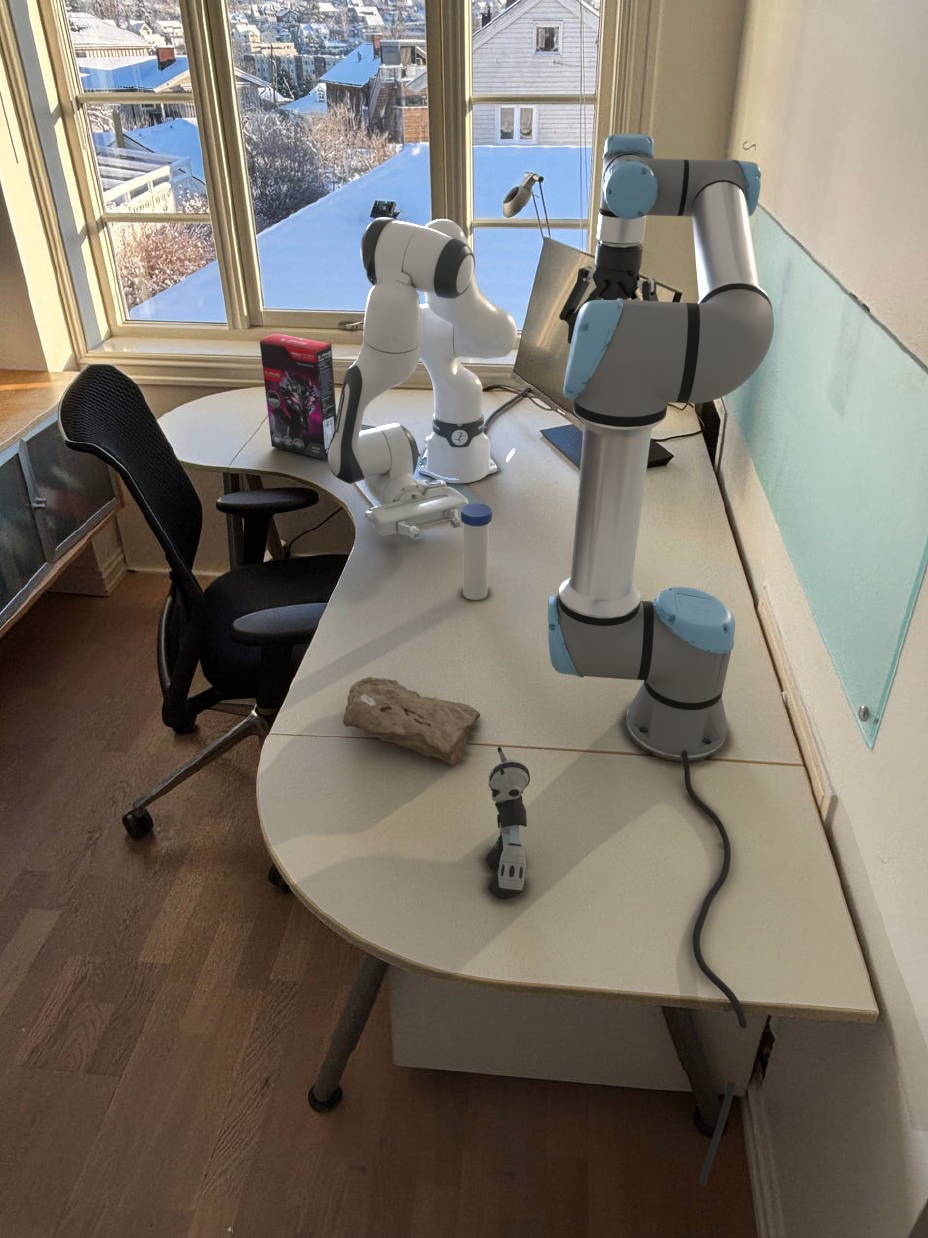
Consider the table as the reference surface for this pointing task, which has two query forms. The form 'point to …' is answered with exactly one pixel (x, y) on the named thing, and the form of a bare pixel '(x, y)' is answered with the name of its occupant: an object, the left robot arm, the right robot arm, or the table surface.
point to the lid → (476, 514)
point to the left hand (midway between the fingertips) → (437, 529)
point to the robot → (508, 827)
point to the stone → (410, 718)
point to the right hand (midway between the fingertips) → (607, 371)
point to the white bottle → (475, 561)
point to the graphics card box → (299, 393)
